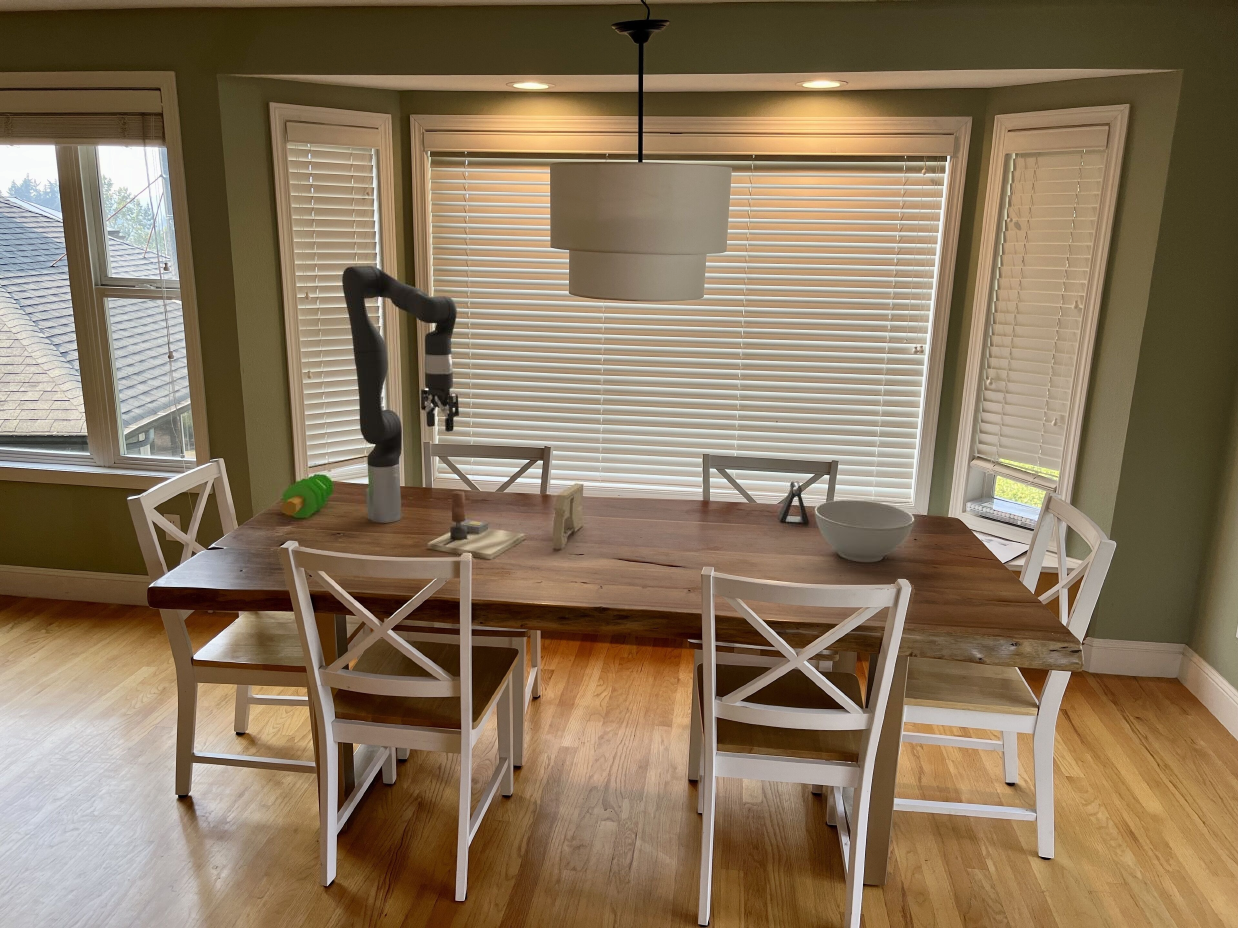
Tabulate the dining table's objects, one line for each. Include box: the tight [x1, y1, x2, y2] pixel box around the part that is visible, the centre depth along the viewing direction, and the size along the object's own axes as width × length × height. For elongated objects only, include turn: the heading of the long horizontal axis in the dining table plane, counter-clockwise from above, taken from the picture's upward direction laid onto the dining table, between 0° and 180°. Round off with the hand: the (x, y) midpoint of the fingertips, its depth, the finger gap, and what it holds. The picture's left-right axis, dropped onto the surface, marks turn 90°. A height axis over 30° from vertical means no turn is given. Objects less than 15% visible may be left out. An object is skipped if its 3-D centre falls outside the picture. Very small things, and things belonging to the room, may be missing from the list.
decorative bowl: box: [814, 499, 916, 563], centre depth 250 cm, size 27×27×12 cm
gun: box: [551, 482, 584, 550], centre depth 259 cm, size 24×3×15 cm, turn 168°
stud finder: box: [461, 518, 489, 534], centre depth 260 cm, size 7×5×2 cm
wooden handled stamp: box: [449, 490, 467, 540], centre depth 251 cm, size 5×5×13 cm
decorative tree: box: [280, 473, 334, 519], centre depth 280 cm, size 11×12×30 cm
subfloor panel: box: [427, 527, 526, 560], centre depth 253 cm, size 20×19×2 cm
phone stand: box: [778, 480, 810, 525], centre depth 280 cm, size 9×6×12 cm, turn 84°
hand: (440, 428), depth 249 cm, fingers open, 8 cm apart
